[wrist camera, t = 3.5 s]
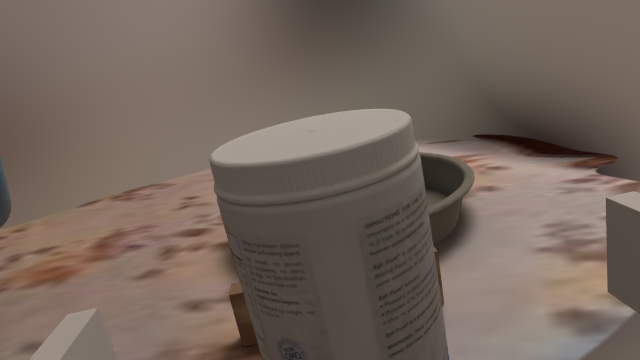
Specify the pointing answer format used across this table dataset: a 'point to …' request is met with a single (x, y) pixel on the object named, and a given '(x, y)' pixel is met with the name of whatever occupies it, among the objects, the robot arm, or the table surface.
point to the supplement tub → (333, 238)
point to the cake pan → (444, 191)
